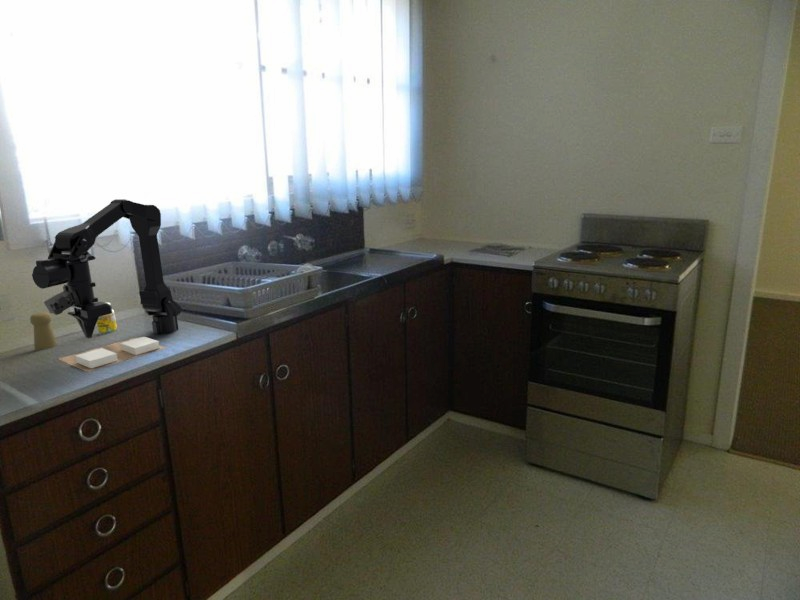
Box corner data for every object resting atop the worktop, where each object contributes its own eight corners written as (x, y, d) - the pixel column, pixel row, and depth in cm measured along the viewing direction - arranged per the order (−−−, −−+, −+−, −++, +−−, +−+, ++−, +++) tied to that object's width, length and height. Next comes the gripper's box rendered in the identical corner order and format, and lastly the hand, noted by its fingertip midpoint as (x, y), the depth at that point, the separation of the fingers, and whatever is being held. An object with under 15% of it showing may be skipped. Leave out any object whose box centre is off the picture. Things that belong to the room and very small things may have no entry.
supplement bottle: (121, 330, 186) (116, 301, 184) (111, 336, 181) (107, 306, 179) (104, 331, 187) (99, 301, 184) (95, 336, 181) (90, 306, 179)
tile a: (143, 336, 169) (158, 341, 164) (144, 343, 169) (159, 348, 164) (120, 343, 163) (134, 348, 159) (121, 350, 164) (135, 355, 159)
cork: (62, 345, 173) (56, 309, 170) (51, 352, 167) (44, 315, 165) (41, 346, 173) (34, 310, 170) (30, 353, 167) (22, 316, 164)
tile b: (102, 348, 160) (116, 353, 155) (103, 355, 160) (117, 361, 155) (75, 355, 154) (89, 361, 149) (76, 363, 155) (91, 369, 150)
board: (135, 340, 175) (135, 337, 175) (167, 350, 165) (166, 347, 165) (58, 362, 159) (57, 358, 159) (87, 375, 149) (86, 371, 148)
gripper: (29, 281, 151) (41, 339, 154) (61, 290, 139) (73, 352, 143) (74, 274, 159) (84, 329, 163) (108, 281, 148) (117, 340, 152)
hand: (88, 337), depth 155 cm, fingers closed
